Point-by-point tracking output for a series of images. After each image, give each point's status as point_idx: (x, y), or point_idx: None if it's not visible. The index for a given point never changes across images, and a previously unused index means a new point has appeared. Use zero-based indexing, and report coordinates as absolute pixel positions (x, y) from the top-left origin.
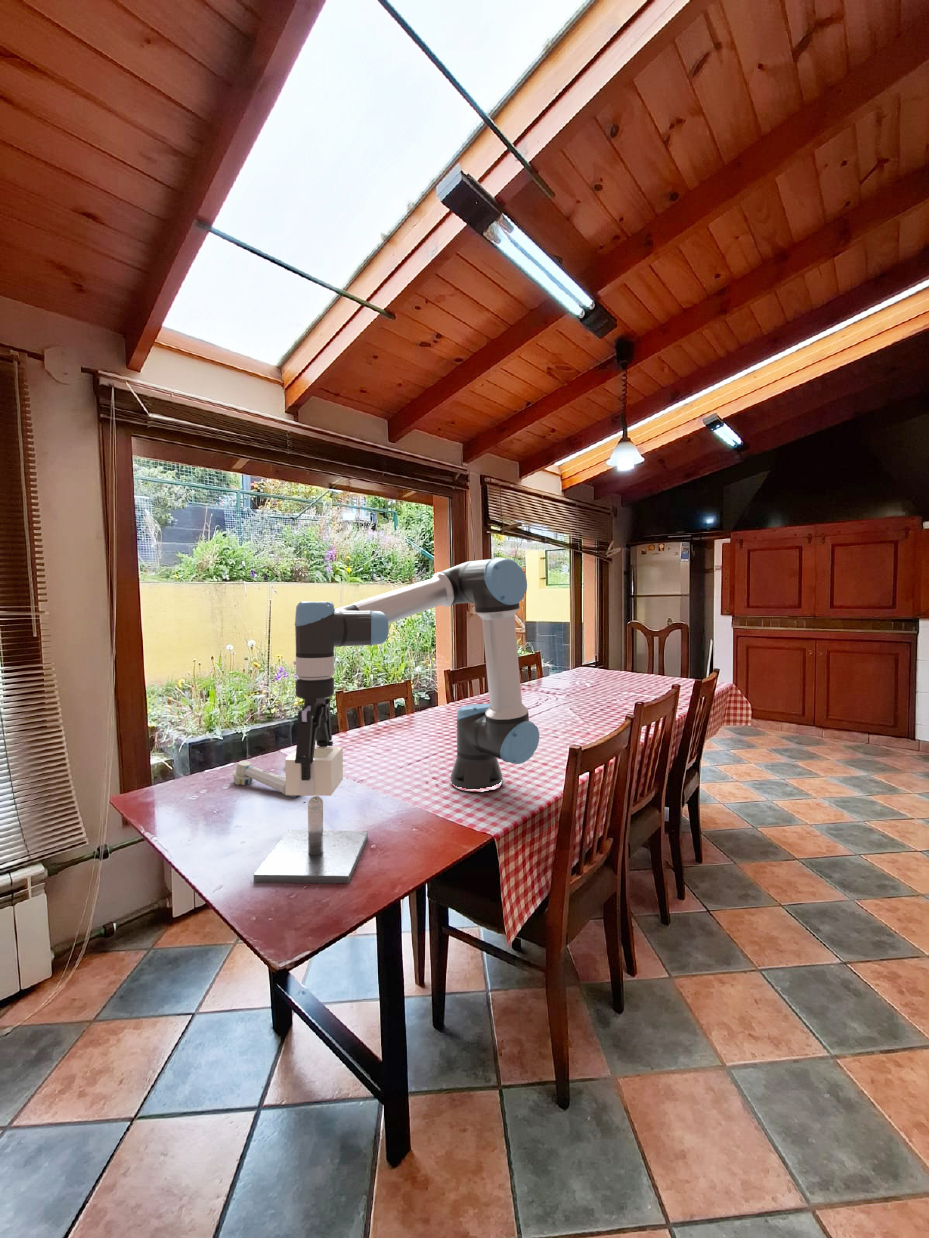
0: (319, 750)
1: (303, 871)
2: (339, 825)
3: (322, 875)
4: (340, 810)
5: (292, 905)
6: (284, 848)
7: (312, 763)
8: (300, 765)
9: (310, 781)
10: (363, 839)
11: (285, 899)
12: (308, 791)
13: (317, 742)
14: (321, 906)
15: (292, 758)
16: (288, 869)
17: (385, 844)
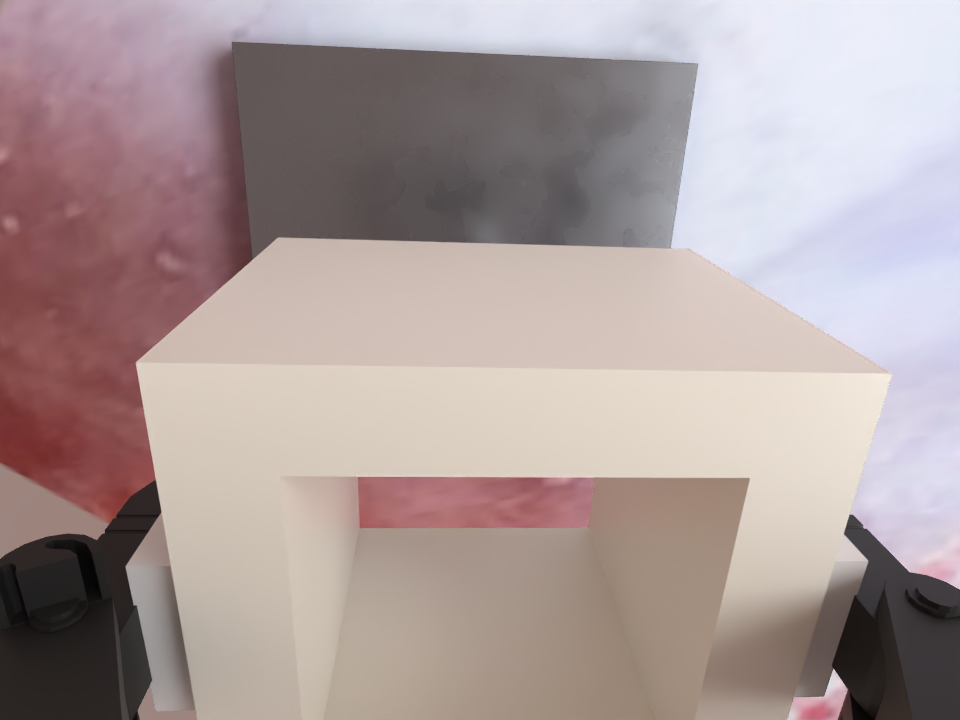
0: (700, 630)
1: None
2: (773, 299)
3: None
4: (949, 264)
5: (109, 279)
6: (493, 113)
7: (157, 691)
8: (142, 547)
9: None
10: None
11: (141, 239)
12: None
13: (888, 634)
14: (124, 384)
15: (232, 443)
16: (293, 203)
17: (568, 515)
